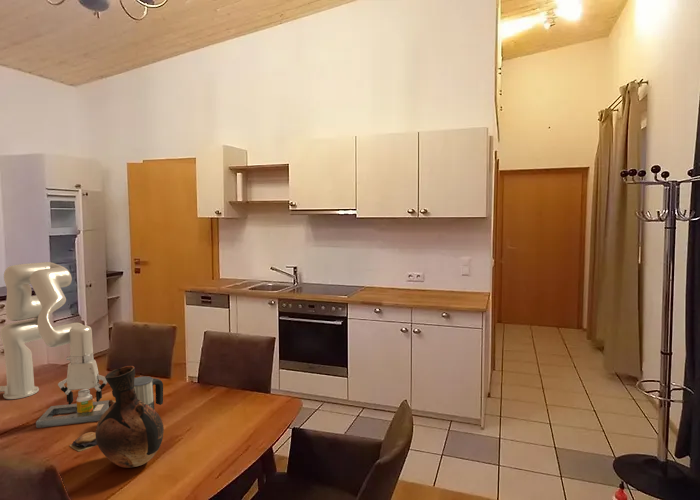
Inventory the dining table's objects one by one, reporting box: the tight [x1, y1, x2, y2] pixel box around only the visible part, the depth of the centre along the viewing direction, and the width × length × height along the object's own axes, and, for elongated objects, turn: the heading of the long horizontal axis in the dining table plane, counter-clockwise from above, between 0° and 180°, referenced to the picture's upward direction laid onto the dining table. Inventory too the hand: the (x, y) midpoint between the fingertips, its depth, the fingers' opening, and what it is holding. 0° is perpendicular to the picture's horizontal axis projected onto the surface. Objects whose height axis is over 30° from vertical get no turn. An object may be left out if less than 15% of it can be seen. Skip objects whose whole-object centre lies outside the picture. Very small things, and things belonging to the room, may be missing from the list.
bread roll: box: [69, 431, 98, 453], centre depth 156 cm, size 11×8×4 cm
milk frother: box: [134, 375, 164, 410], centre depth 176 cm, size 14×16×15 cm
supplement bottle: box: [76, 388, 94, 413], centre depth 177 cm, size 5×5×10 cm
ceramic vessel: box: [95, 365, 164, 469], centre depth 141 cm, size 21×18×30 cm
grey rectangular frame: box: [35, 399, 110, 429], centre depth 176 cm, size 22×14×2 cm, turn 104°
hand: (84, 401), depth 177 cm, fingers open, 9 cm apart
